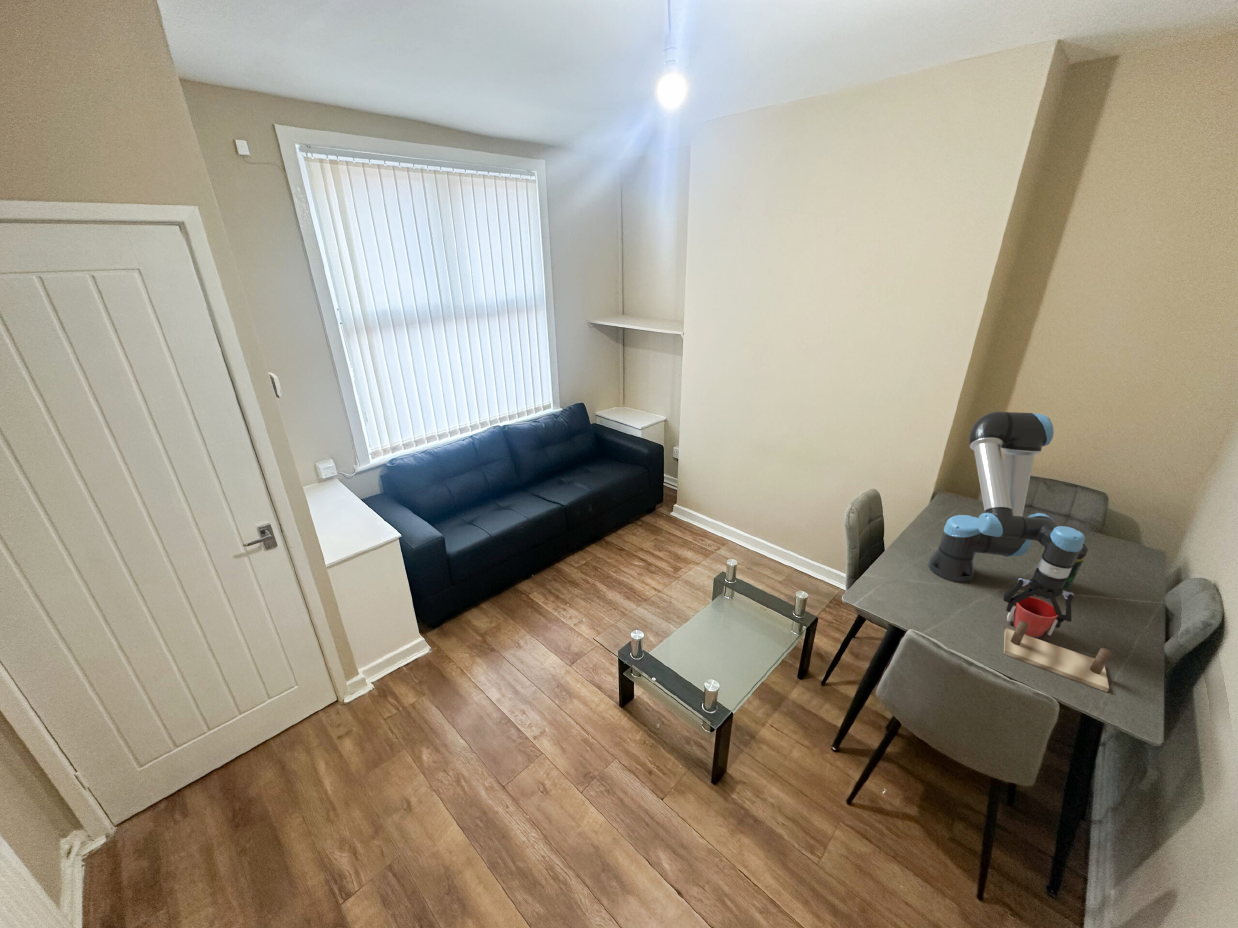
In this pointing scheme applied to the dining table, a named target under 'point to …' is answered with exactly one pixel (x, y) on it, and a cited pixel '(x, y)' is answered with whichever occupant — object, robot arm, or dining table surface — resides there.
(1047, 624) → the flower pot
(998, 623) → the dining table surface
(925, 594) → the dining table surface
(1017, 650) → the rack
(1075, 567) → the coffee jar
